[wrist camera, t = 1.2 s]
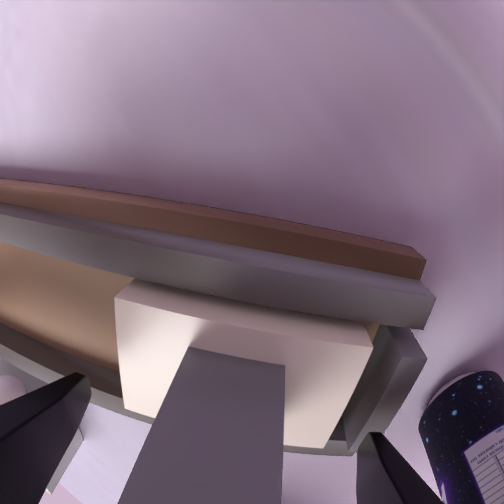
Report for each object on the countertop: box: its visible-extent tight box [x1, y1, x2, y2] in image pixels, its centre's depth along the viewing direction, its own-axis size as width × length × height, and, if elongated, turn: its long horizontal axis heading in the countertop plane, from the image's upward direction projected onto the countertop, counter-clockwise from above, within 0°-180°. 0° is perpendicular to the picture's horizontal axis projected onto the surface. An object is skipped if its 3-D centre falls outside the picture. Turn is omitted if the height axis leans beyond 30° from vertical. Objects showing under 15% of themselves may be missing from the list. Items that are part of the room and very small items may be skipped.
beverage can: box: [419, 371, 504, 504], centre depth 8 cm, size 6×6×12 cm
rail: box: [0, 178, 436, 456], centre depth 12 cm, size 10×24×4 cm, turn 80°
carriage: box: [114, 278, 373, 504], centre depth 8 cm, size 5×8×8 cm, turn 80°
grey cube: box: [0, 358, 83, 494], centre depth 14 cm, size 6×7×6 cm
